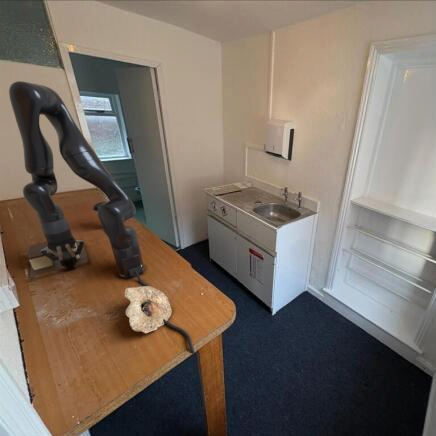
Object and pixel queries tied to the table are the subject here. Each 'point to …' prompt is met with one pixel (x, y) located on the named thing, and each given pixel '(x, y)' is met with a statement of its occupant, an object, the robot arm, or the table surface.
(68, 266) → the knife
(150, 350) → the table surface
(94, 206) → the coffee cup
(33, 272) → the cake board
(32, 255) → the cake
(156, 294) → the seashell
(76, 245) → the cake slice
